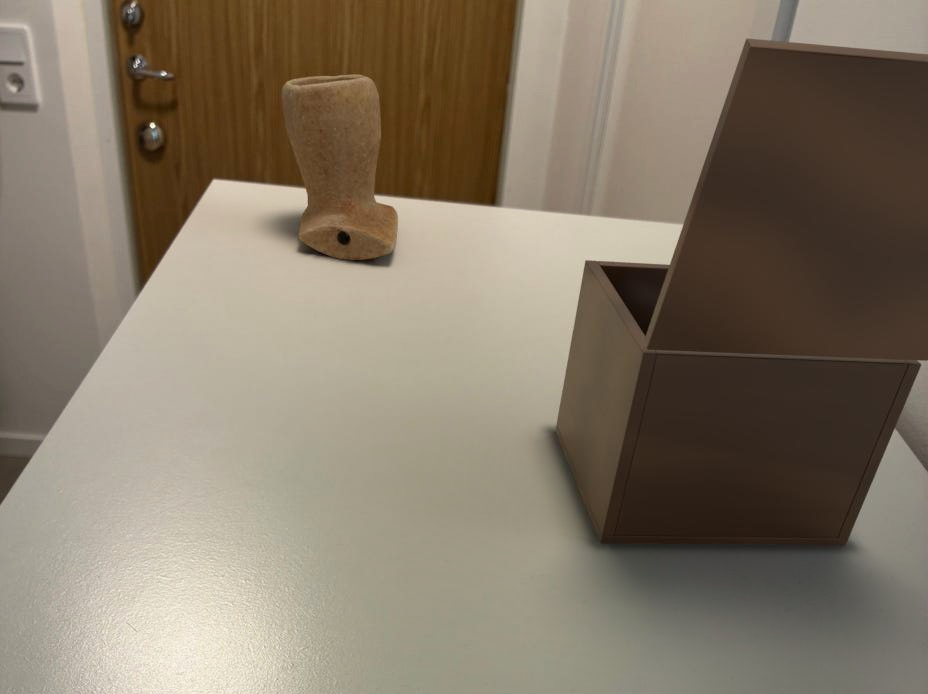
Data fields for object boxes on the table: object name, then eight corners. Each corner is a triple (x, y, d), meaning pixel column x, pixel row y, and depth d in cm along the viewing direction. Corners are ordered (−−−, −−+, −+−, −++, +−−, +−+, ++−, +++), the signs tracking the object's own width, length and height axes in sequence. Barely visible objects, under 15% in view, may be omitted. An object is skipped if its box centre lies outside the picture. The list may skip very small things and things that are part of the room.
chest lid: (745, 37, 41) (750, 46, 41) (1100, 68, 43) (1108, 77, 43) (643, 340, 54) (646, 350, 53) (922, 352, 56) (928, 361, 56)
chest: (554, 434, 73) (585, 259, 65) (765, 439, 75) (820, 272, 67) (599, 546, 62) (643, 353, 54) (844, 548, 64) (922, 364, 56)
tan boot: (293, 211, 107) (291, 54, 98) (401, 222, 108) (410, 67, 98) (270, 259, 96) (266, 85, 86) (392, 270, 96) (401, 99, 87)
